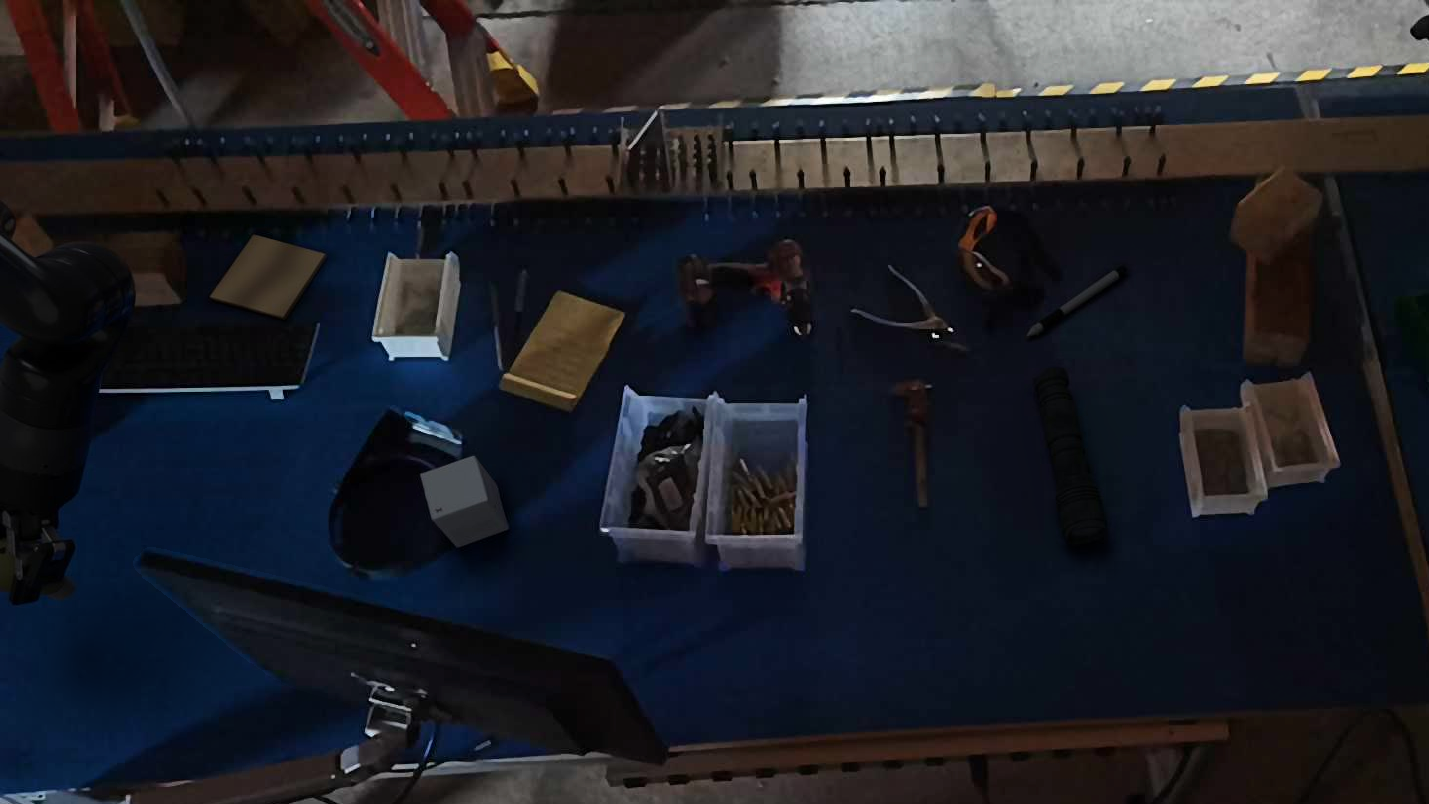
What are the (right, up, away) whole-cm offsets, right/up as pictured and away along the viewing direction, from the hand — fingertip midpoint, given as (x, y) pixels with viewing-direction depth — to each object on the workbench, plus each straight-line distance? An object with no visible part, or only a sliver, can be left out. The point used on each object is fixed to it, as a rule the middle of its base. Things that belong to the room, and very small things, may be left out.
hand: (7, 580), depth 109 cm
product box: (+39, +6, +16) cm, 43 cm away
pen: (+107, +32, +30) cm, 116 cm away
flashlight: (+105, +12, +20) cm, 108 cm away
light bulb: (+1, -2, +6) cm, 7 cm away
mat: (+8, +36, +30) cm, 47 cm away
